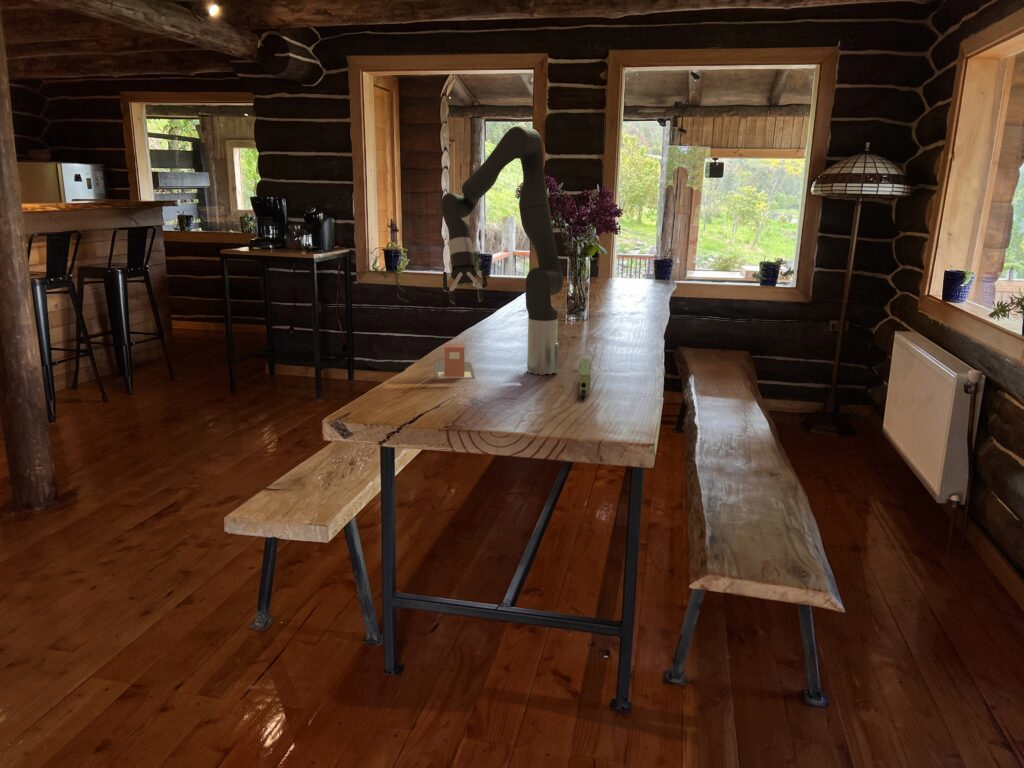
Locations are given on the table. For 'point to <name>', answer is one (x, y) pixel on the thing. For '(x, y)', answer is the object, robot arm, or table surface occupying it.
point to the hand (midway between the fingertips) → (467, 302)
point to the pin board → (467, 375)
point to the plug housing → (453, 360)
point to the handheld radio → (584, 377)
